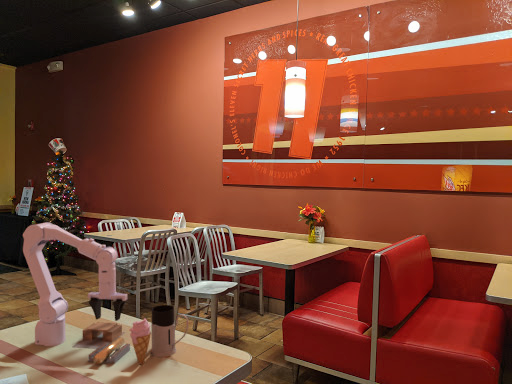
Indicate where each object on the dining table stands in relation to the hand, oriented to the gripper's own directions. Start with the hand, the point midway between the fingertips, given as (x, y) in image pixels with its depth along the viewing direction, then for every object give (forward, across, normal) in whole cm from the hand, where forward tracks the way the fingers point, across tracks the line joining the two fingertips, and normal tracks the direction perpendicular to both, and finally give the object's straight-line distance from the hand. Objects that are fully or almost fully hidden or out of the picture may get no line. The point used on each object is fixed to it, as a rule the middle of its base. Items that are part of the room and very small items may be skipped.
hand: (107, 319), depth 141 cm
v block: (+9, +7, -11) cm, 16 cm away
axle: (+8, +7, -11) cm, 15 cm away
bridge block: (+9, -4, +1) cm, 10 cm away
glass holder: (+9, +25, -3) cm, 27 cm away
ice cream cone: (+9, +19, -13) cm, 25 cm away
